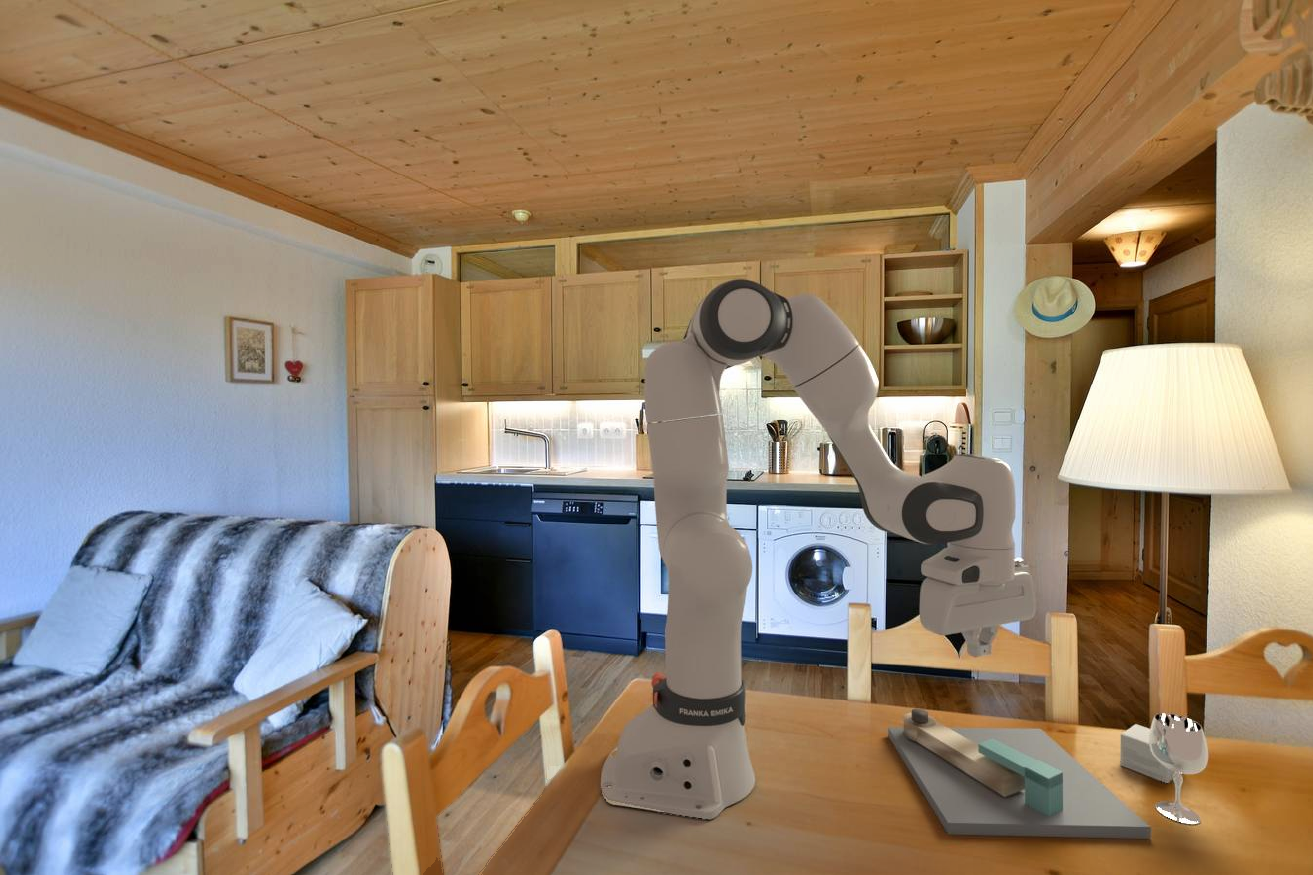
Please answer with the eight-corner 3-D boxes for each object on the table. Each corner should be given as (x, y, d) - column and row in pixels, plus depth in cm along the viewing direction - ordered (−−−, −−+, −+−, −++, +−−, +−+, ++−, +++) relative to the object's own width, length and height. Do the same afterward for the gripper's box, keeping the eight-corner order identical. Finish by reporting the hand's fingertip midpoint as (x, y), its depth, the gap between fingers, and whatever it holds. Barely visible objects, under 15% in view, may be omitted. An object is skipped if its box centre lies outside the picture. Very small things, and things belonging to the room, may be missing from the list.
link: (896, 730, 94) (896, 708, 94) (919, 724, 96) (919, 702, 96) (1002, 797, 77) (1001, 770, 77) (1027, 788, 79) (1027, 761, 79)
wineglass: (1220, 830, 73) (1220, 735, 73) (1166, 825, 74) (1166, 731, 74) (1188, 801, 79) (1188, 712, 78) (1139, 796, 80) (1138, 709, 80)
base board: (948, 834, 74) (948, 822, 73) (888, 736, 96) (888, 727, 96) (1150, 838, 72) (1150, 826, 72) (1040, 737, 95) (1040, 728, 95)
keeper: (978, 776, 83) (978, 742, 83) (992, 770, 84) (992, 736, 84) (1049, 816, 74) (1048, 778, 74) (1063, 809, 75) (1062, 771, 75)
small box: (1182, 771, 85) (1182, 738, 85) (1168, 785, 82) (1168, 751, 82) (1134, 753, 90) (1134, 721, 90) (1119, 766, 87) (1119, 733, 87)
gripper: (1009, 552, 95) (1008, 637, 95) (912, 564, 87) (911, 657, 87) (1048, 561, 89) (1046, 652, 89) (948, 574, 81) (947, 673, 81)
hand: (979, 654), depth 88 cm, fingers closed
